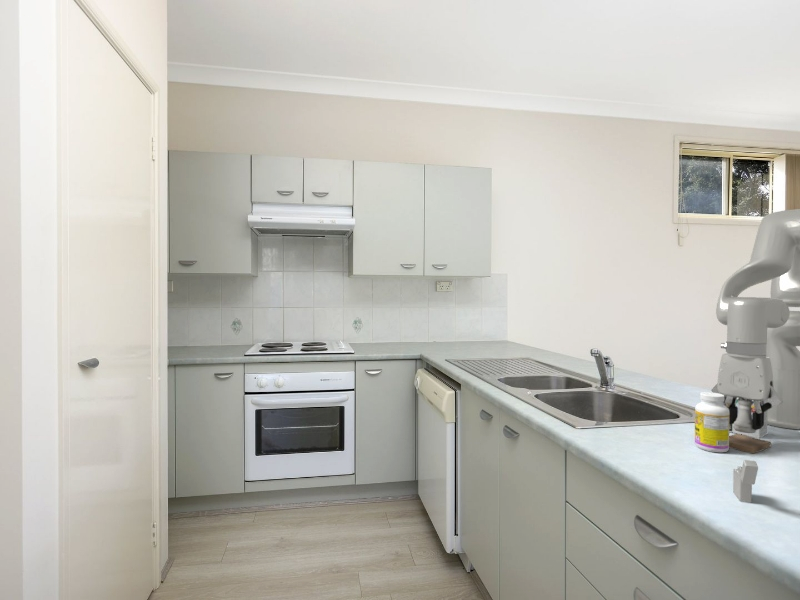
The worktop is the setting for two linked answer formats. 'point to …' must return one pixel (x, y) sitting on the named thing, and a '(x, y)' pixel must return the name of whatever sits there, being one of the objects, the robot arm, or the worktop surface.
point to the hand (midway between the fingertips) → (744, 425)
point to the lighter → (744, 480)
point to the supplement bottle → (712, 423)
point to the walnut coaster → (747, 443)
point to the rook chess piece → (744, 416)
